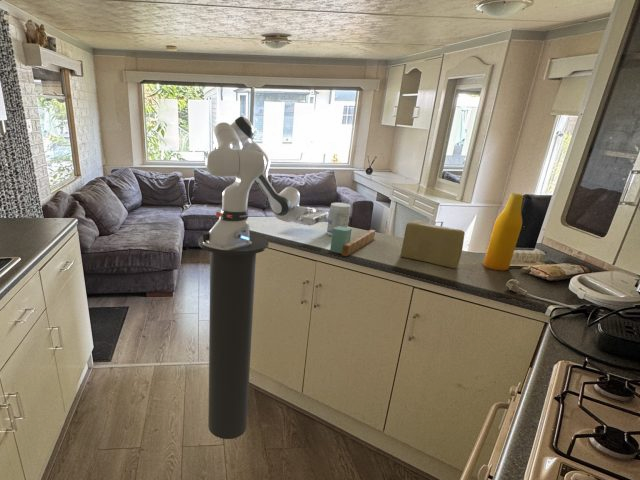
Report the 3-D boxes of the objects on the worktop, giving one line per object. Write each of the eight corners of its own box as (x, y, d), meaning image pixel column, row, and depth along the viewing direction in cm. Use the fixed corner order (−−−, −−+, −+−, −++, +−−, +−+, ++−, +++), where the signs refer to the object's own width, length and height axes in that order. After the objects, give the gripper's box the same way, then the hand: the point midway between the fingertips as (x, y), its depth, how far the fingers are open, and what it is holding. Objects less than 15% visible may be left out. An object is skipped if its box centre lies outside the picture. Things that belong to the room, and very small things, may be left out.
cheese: (461, 266, 173) (471, 229, 166) (452, 271, 166) (461, 233, 160) (409, 252, 187) (416, 218, 181) (399, 256, 181) (405, 221, 175)
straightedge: (346, 256, 179) (348, 246, 177) (341, 255, 180) (342, 244, 178) (373, 239, 204) (375, 230, 203) (368, 238, 206) (370, 229, 204)
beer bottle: (509, 272, 168) (532, 197, 156) (482, 268, 171) (503, 194, 160) (507, 265, 175) (530, 194, 163) (482, 261, 179) (502, 191, 167)
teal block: (343, 254, 181) (346, 231, 177) (330, 251, 184) (333, 228, 180) (348, 250, 186) (351, 228, 182) (335, 248, 189) (338, 225, 185)
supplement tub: (323, 232, 214) (327, 202, 208) (341, 231, 216) (345, 202, 210) (331, 237, 205) (335, 206, 199) (349, 237, 207) (354, 206, 201)
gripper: (295, 213, 208) (321, 217, 201) (313, 206, 224) (338, 210, 217) (293, 225, 211) (319, 230, 204) (311, 218, 226) (336, 222, 219)
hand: (329, 220), depth 210 cm, fingers closed, pressing on supplement tub
